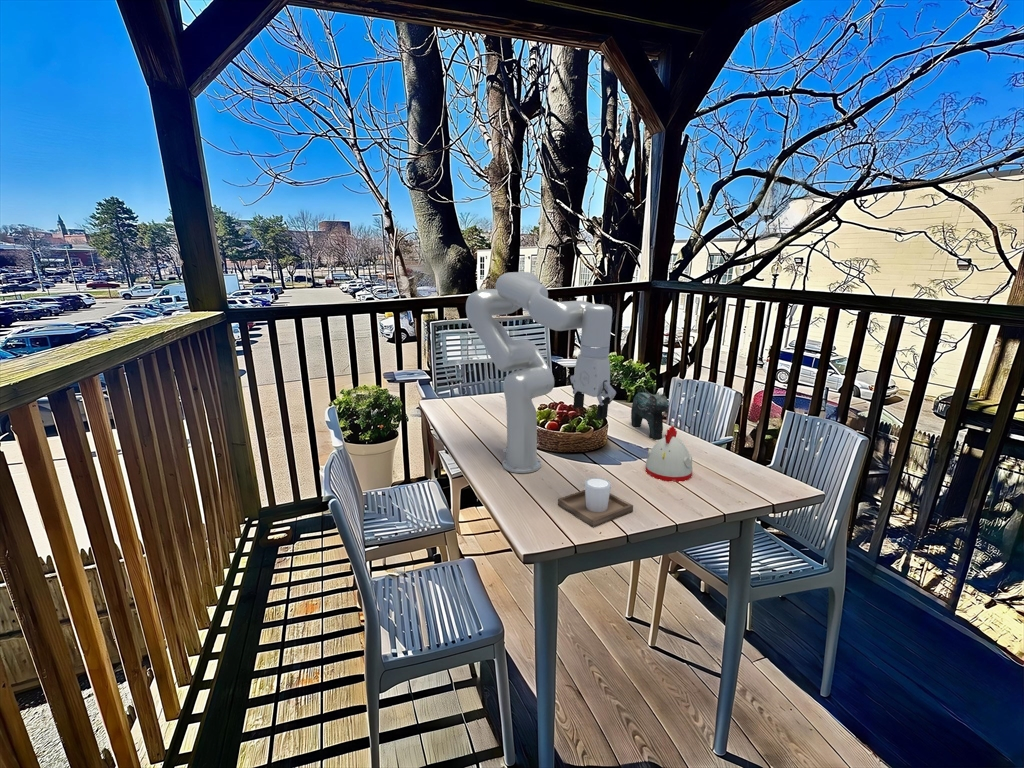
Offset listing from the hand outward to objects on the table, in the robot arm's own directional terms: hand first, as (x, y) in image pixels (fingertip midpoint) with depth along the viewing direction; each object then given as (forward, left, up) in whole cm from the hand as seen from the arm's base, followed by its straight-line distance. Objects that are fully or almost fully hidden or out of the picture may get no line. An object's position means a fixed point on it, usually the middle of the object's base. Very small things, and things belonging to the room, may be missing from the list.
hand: (589, 412), depth 131 cm
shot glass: (+9, -4, -23) cm, 25 cm away
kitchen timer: (+4, +30, -24) cm, 39 cm away
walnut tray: (+8, -5, -24) cm, 25 cm away
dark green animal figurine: (-25, +53, -24) cm, 63 cm away
